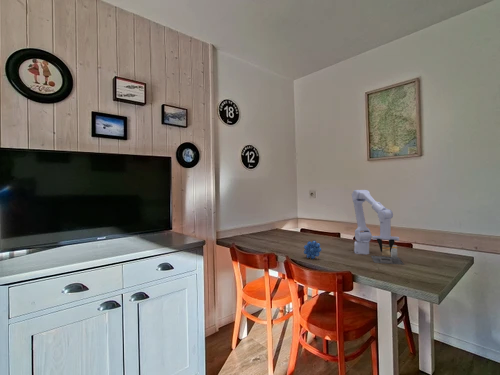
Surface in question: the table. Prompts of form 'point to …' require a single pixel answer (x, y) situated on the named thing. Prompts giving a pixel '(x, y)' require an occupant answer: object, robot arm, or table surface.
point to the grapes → (312, 249)
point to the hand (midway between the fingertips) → (385, 251)
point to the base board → (384, 259)
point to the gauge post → (394, 252)
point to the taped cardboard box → (385, 250)
